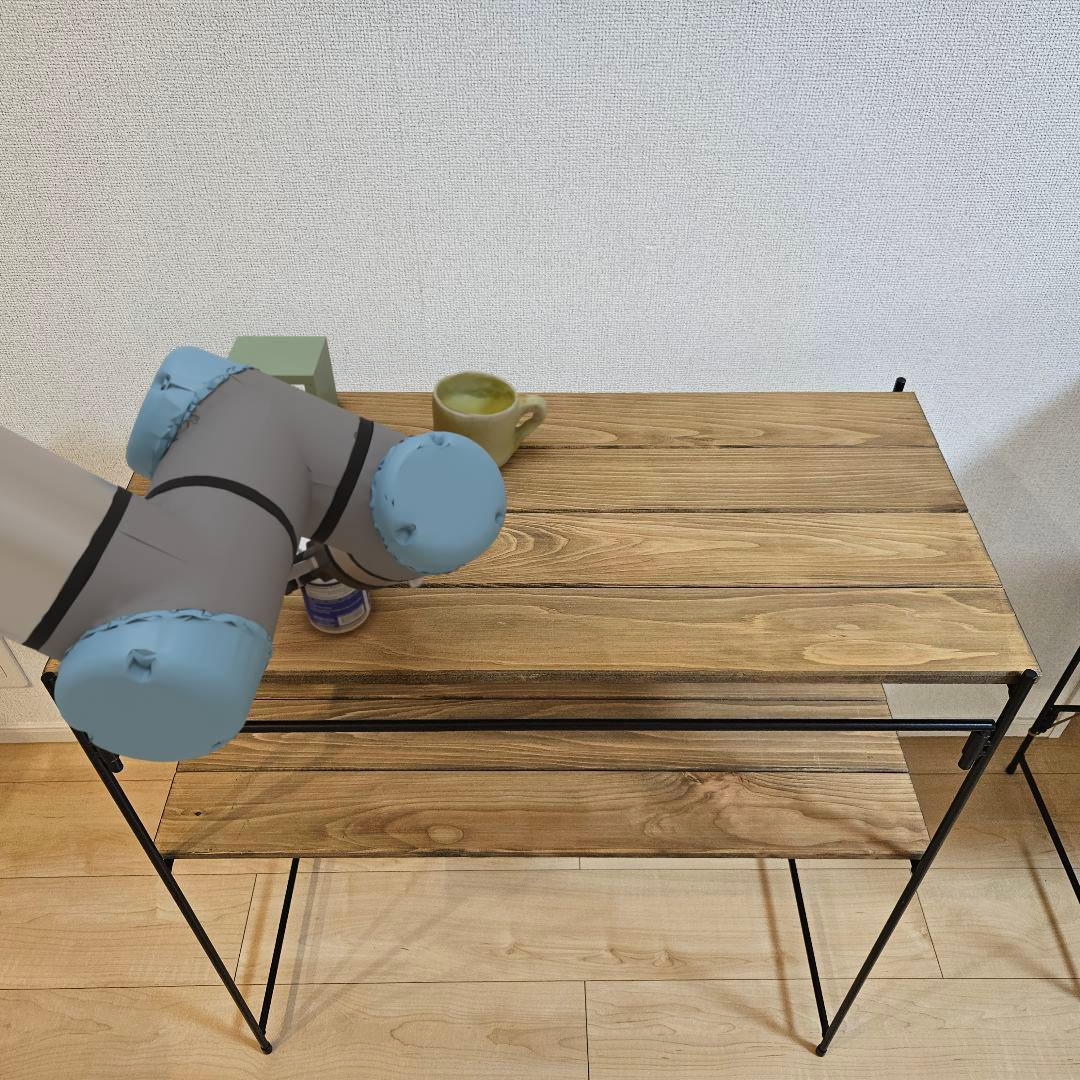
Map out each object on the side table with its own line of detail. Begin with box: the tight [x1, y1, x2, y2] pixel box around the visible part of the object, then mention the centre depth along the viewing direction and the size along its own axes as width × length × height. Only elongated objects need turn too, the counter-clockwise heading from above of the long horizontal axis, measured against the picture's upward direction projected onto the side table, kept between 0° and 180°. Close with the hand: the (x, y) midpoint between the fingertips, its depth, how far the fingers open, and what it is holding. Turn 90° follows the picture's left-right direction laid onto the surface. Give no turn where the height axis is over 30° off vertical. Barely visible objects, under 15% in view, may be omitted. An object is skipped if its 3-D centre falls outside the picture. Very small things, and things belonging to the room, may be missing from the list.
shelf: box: [226, 335, 340, 407], centre depth 100 cm, size 10×8×9 cm
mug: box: [431, 370, 549, 469], centre depth 96 cm, size 12×10×10 cm
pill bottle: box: [296, 537, 371, 634], centre depth 78 cm, size 6×6×10 cm
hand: (316, 564), depth 82 cm, fingers closed on pill bottle, 6 cm apart
